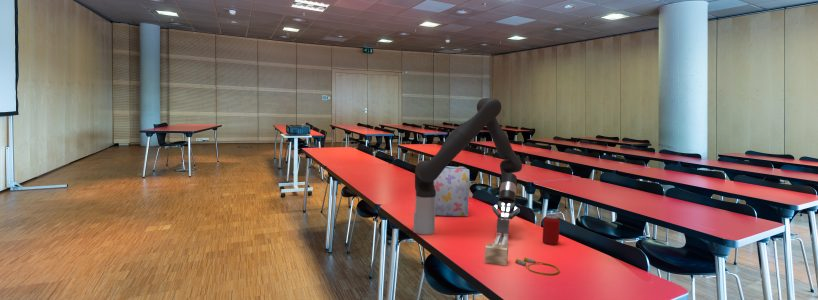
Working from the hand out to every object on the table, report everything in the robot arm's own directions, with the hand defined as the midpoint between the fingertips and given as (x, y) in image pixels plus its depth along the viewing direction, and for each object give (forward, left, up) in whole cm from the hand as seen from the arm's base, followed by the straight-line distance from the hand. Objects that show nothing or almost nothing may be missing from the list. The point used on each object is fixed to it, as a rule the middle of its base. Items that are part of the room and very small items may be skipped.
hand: (503, 225), depth 191 cm
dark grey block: (0, -11, -7) cm, 13 cm away
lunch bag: (-34, +39, -7) cm, 52 cm away
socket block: (0, -28, -7) cm, 29 cm away
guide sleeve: (0, -11, -7) cm, 13 cm away
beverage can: (+20, +5, -7) cm, 22 cm away
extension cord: (+16, -28, -8) cm, 33 cm away
